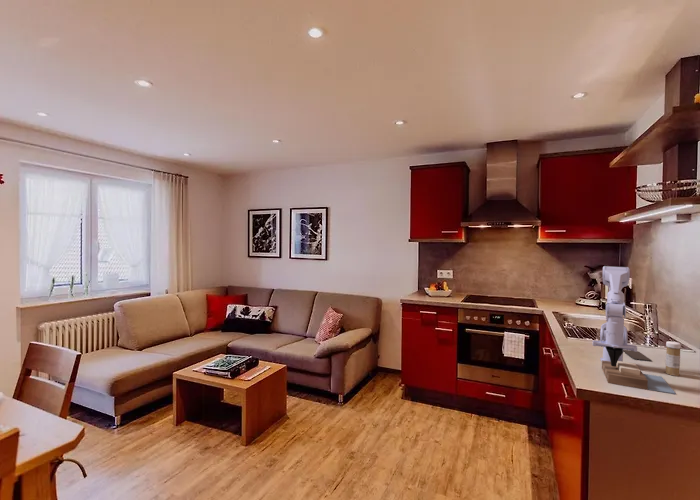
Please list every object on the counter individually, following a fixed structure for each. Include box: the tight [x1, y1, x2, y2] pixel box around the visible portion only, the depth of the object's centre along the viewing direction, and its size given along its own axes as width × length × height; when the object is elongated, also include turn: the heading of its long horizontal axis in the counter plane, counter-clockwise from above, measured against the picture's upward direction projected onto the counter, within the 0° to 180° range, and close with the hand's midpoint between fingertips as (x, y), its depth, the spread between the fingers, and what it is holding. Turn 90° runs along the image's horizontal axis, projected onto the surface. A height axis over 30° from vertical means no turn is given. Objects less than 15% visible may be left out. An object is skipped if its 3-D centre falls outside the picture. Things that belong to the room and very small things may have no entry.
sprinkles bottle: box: [664, 340, 682, 377], centre depth 147 cm, size 5×5×14 cm
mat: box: [643, 373, 677, 395], centre depth 138 cm, size 18×8×1 cm, turn 151°
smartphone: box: [623, 349, 653, 363], centre depth 171 cm, size 7×1×15 cm
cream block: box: [617, 361, 641, 376], centre depth 142 cm, size 9×6×2 cm, turn 151°
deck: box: [601, 360, 648, 390], centre depth 143 cm, size 18×12×4 cm, turn 151°
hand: (613, 365), depth 144 cm, fingers closed
